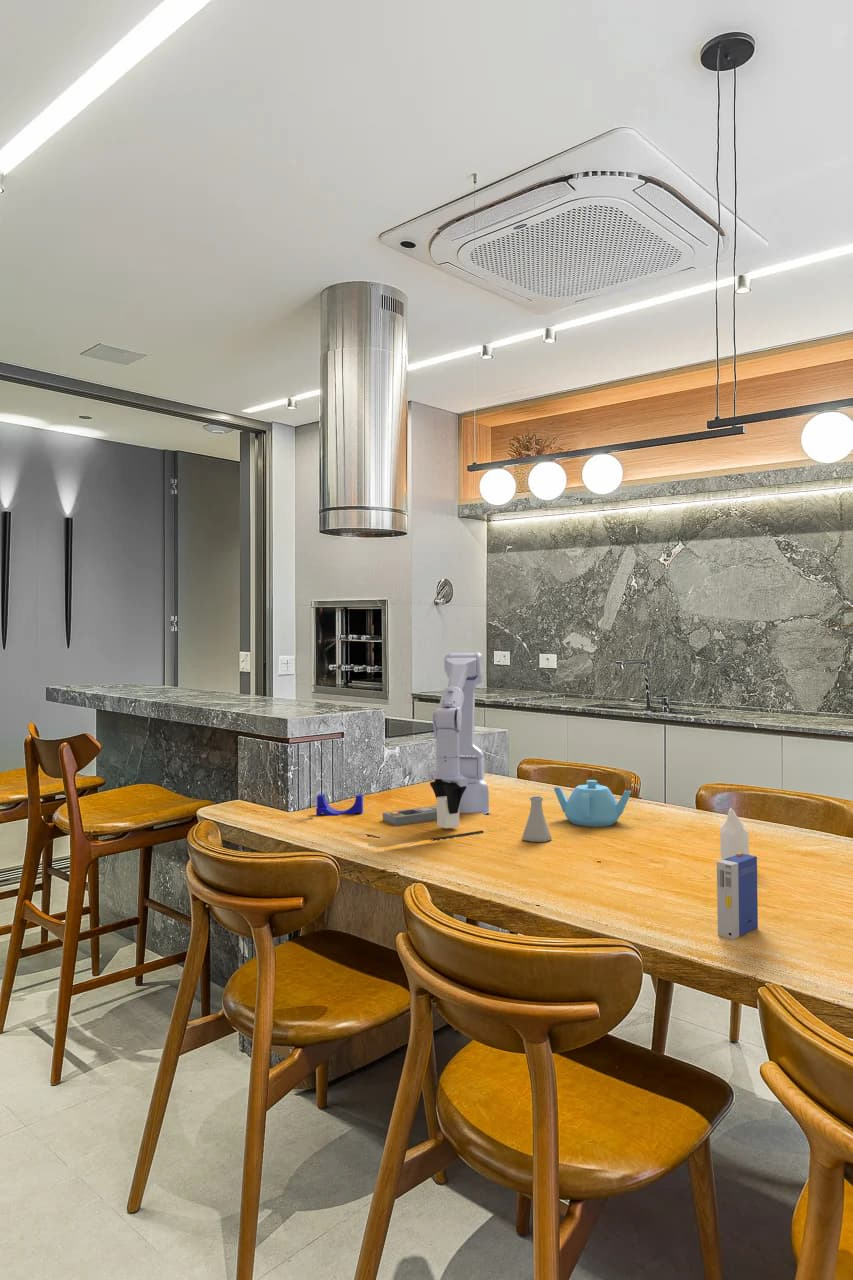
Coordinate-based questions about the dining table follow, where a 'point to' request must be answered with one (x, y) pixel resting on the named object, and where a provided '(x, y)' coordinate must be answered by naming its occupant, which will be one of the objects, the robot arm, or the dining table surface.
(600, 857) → the dining table surface
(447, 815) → the plug
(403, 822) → the power strip
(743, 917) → the walkman
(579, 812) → the teapot
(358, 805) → the blue arch block
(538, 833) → the flask
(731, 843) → the glue bottle
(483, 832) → the rubber mat
